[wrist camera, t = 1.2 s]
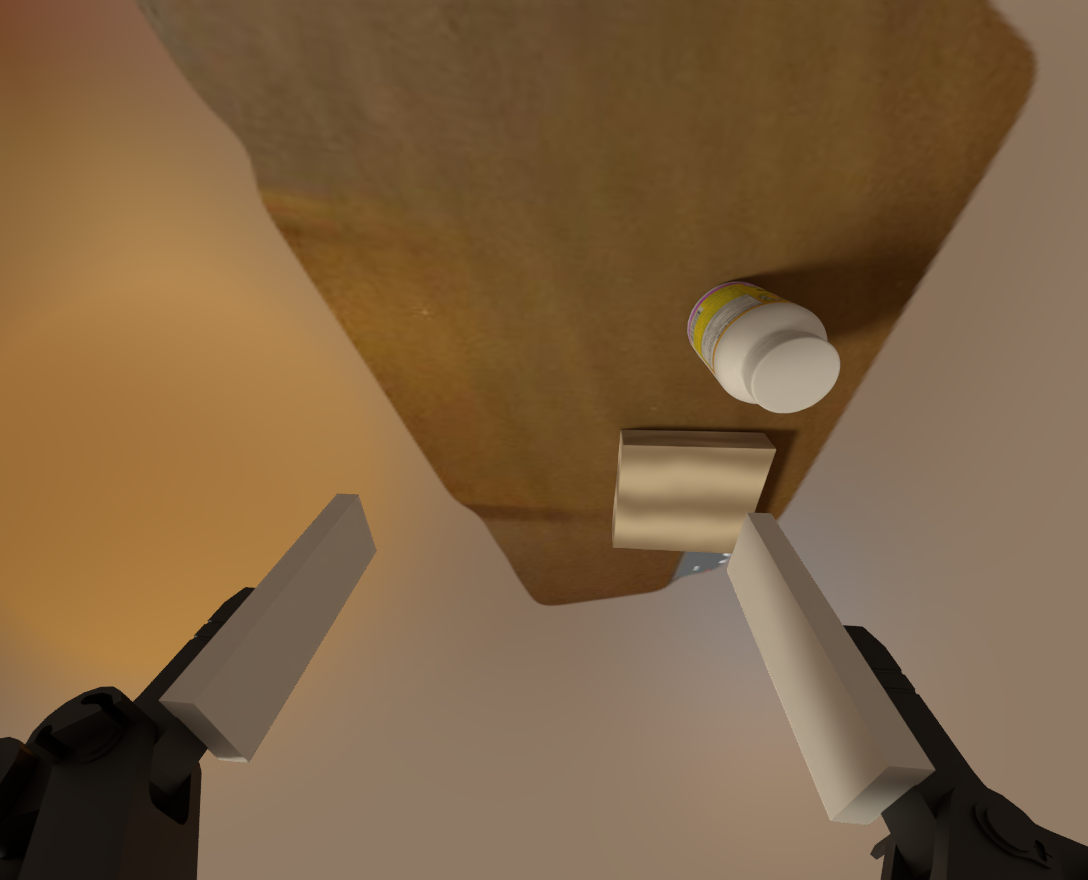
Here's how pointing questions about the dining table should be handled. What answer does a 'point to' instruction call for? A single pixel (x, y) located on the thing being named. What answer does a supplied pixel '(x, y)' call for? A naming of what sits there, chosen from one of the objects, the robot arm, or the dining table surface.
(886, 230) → the dining table surface
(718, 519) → the birch stand
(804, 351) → the supplement bottle
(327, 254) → the dining table surface
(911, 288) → the dining table surface
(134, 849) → the robot arm
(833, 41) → the dining table surface
